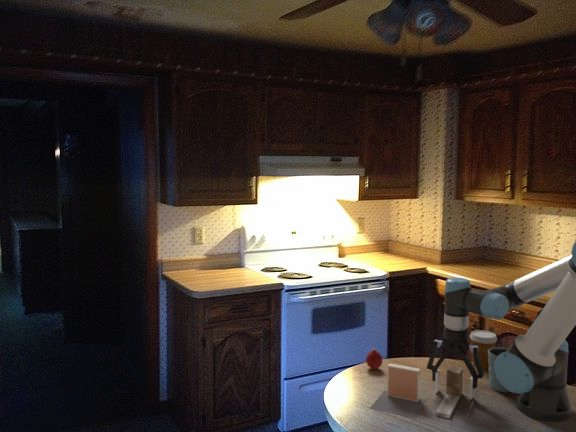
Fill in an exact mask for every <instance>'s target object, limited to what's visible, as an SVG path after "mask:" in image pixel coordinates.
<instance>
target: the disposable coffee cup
mask: <svg viewBox="0 0 576 432" xmlns="http://www.w3.org/2000/svg"><path fill="white" fill-rule="evenodd" d="M469 338H470V342H471V343H470V345H472V346H475V345H478V347H479V349H478V354H479V357H480V361H481V365H482V368H483V370H484V369H485V370H489V362H488V359H489V358H488V350H489V349H490V348H494V347H496V344H497V341H498V337H497V335H496V333H495V332H492V331H488V330H480V329H475V330H473V331H471V332H470V334H469ZM471 353H472V352H471ZM472 365H473V366H474V368H476V365H475V361H474V357H473V353H472Z"/></svg>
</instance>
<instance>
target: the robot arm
mask: <svg viewBox="0 0 576 432" xmlns="http://www.w3.org/2000/svg"><path fill="white" fill-rule="evenodd" d="M571 247H572V248H571V254H569V255H567V256H565V257H563V258H560V259H558V260H557V261H554V262H552V263H550V264H547V265H546V266H543V267H541V268H539V269H537V270H534V271H532V272H530V273H528V274H526V275H524V276H521V277H520V278H517V279H515V280H512V281H511V282H508V283H506V284H504V285H501V286H498V287H493V288H490V289H486V290H482V289H478V288H477V289H476V288H473V287H471V281H470V280H469V279H467V278H463V277H450V278H448V279H446V280H445V285H444V287H445V288H444V292H443V293H444V313H443V338H442V340H439V339H437V338H436V339H434V340H433V341H432V346H433V347H432V351H431V354H430V357H429V359H428V361H427V364H426V369H427V370H430V371H431V372H432V373H431V374H432V376H431V377H432V378H431V379H432V381H433V382H435V385H434V393H439V390H440V380H441V378H440V377H441V376H440V375H441V374H440V373H441V370H440V369H439V367H440V366H441V365H442V363H443V362H444V360H445V359H446V358H447V357H448V356H450V357H451V356H453V357H458V358H461V359H462V361H463V363H464V364H465V366H466V368H467V370H468V372H469V374H470V375H471V377H470V379H469V400H473V398H474V395H475V394H474V392H475V391H474V390H475V389H477V388H478V379H483V378H484V376H485V373H484V369H483V368H482V365H481V361H480V357H479V354H478V349H479V347H478V345H475V346H472V345H471V344H470V343H469V330H470V329H469V327H470V326H469V325H470V314H474V315H478V316H481V317H484V318H487V319H494V320H502V319H504V318H505V316H506V315H507V313H508V312H509V310H512V309H516V308H520V307H522V306H523V305H524V304H527V303H529V302H531V301H532V302H533V301H534V300H536V299H539V298H541V297H543V296H546V295H548V294H551V293H553V294H552V296H551V297H550V298H549V300H548V301H547V302H546V304H545V306H544V307H543V308H542V310H541V311H540V312H539V315H538V316H537V317H536V319H535V321H533V323H532V324H531V325H530V327H529V329H528V330H527V332H526V333H525V334H519V335H518V336H516V337H515V338H514V340H513V342H512V343H511V344H510V346H509V347H508V348H509V349H508V350H507V351H506V352H503V353H501V354H500V355H499V356H497V358H496V359H495V361H494V371H495V373H496V377H497V379H498V381H499V382H500V384H501V385H502V386H503V387H504V388H506V389H507V390H509V391H511V392H510V393H513V394H518V395H517V397H516V407H517V409H518V410H519V411H520V412H522V413H523V414H524V415H527V416H529V417H532V418H534V419H538V420H542V421H550V422H562V421H565V420H567V419H570V418H571V416H572V404H571V401H570V397H569V394H568V393H569V392H568V391H567V379H568V378H567V377H568V363H569V362H568V361H569V353H570V352H569V342H568V341H567V340H566V339H567V337H568V336H569V335H570V333H571V332H572V330H573V329H574V328H575V327H576V240H575V241H574V243H573V244H572V246H571ZM441 345H442V347H443V349H444V350H445V351H444V352H443V354H442V355H441V356H440V357H439V359H438V360H437V362H436V363H435V365H434V362H435V358H436V356H437V353H438V351H439V348H440V347H441ZM468 350H470V352H471V353H473V355H472V358H473V357H474V361H475V365H476V367H475V366H474V365H473V362H472V361H471V359H470V357H469V355H468V353H467V351H468ZM475 368H476V369H475Z"/></svg>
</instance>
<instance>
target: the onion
mask: <svg viewBox="0 0 576 432" xmlns="http://www.w3.org/2000/svg"><path fill="white" fill-rule="evenodd" d="M365 362H366V364H367V366H368V367H369V368H370V369H371V370H373V371H375V370H378V369H379V368H380V367H381V366H382V365H383V356H382V355H381V353H380V352H378V351H377V350H376V349H375V348H372V349H371V351H370V352H368V354H367V355H366V357H365Z"/></svg>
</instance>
